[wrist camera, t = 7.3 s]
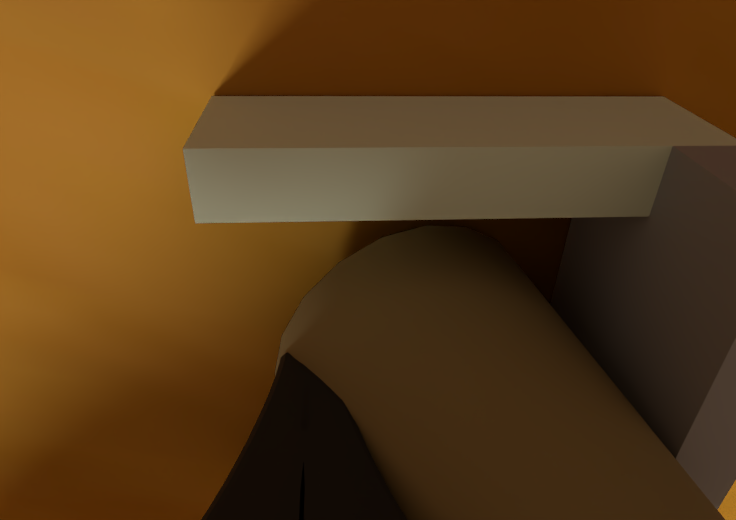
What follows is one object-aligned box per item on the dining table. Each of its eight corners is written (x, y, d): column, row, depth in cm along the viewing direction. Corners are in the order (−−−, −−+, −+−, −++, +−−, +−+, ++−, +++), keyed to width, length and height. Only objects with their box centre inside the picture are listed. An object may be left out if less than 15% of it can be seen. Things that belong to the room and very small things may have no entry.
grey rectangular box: (549, 462, 16) (628, 656, 12) (261, 476, 16) (240, 684, 12) (663, 96, 11) (889, 226, 6) (211, 95, 10) (132, 239, 6)
